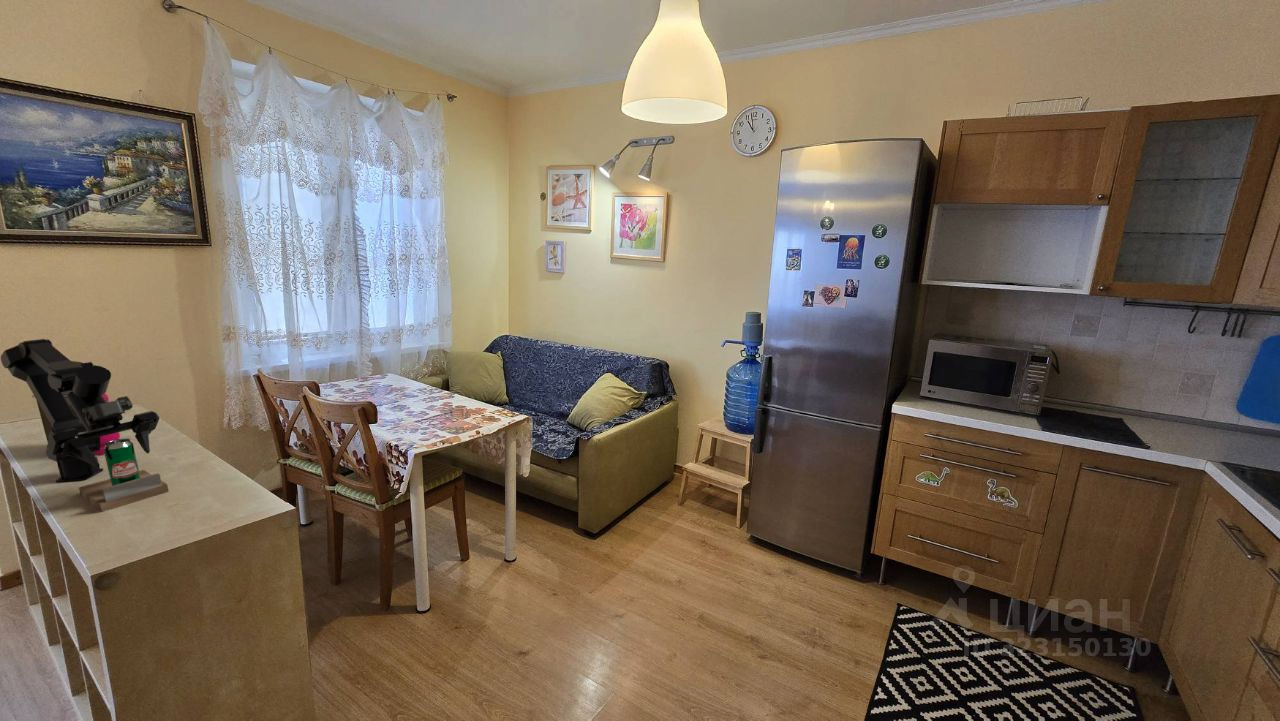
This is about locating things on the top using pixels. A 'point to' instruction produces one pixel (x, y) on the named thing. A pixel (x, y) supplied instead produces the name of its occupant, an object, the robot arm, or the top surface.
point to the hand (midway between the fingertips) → (124, 459)
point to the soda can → (121, 461)
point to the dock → (123, 491)
